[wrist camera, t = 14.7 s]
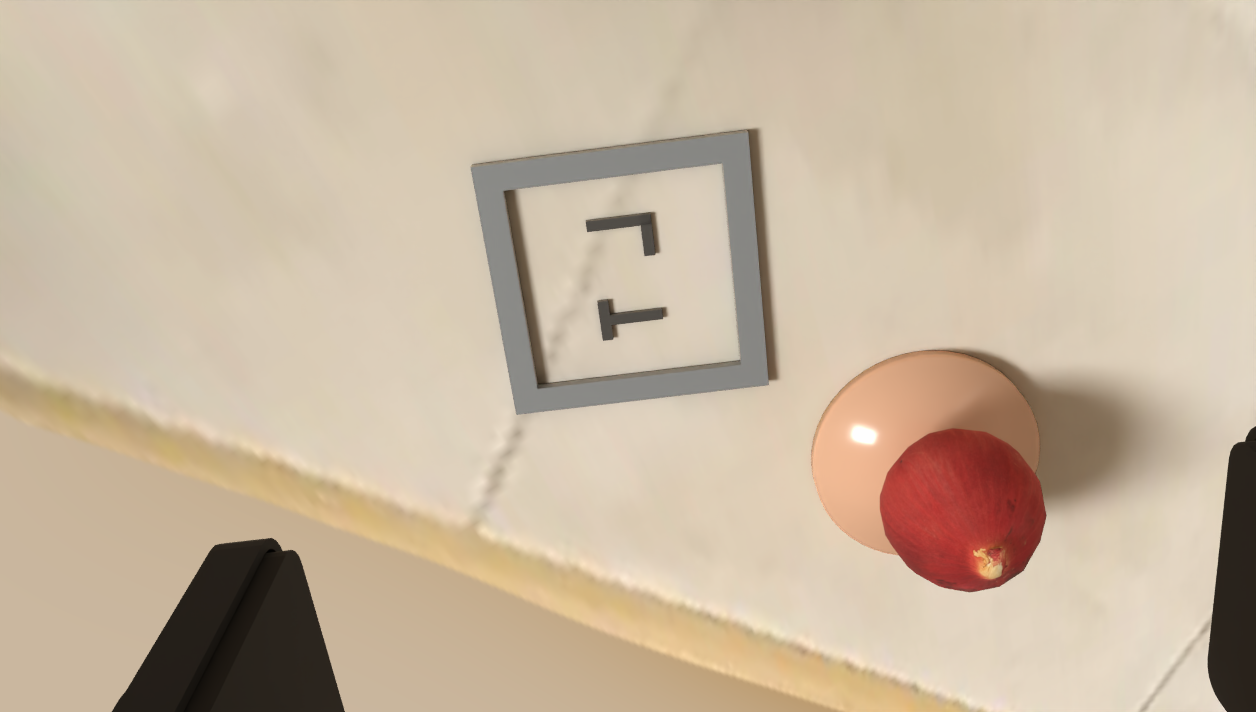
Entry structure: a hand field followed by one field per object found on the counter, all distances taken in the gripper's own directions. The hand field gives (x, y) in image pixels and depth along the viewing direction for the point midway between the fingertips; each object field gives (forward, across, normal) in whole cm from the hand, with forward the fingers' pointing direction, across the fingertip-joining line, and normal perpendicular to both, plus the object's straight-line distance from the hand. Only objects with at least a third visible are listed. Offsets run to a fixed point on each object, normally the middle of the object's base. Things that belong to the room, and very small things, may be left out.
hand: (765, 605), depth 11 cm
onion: (+30, -9, +16) cm, 35 cm away
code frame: (+30, +2, +7) cm, 31 cm away
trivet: (+30, -9, +16) cm, 35 cm away
